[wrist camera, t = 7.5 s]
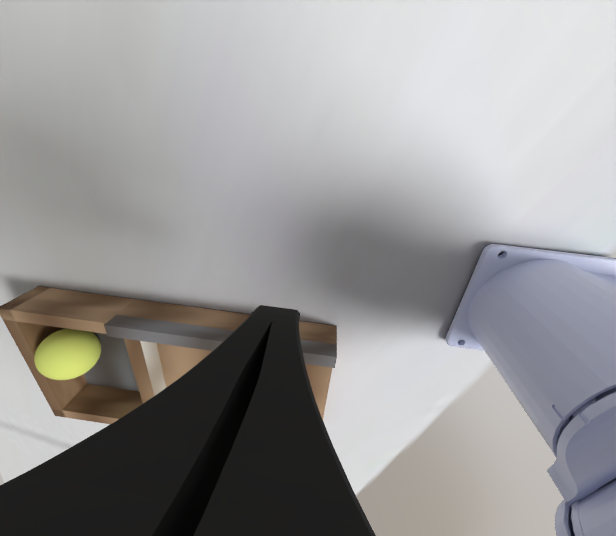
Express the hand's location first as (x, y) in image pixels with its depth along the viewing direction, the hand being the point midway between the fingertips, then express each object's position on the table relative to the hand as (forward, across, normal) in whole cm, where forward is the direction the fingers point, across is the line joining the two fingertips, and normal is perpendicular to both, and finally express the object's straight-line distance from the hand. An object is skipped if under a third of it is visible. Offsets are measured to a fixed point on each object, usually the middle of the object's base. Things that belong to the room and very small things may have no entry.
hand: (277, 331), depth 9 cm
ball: (+7, +18, +12) cm, 22 cm away
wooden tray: (+9, +9, +13) cm, 18 cm away
